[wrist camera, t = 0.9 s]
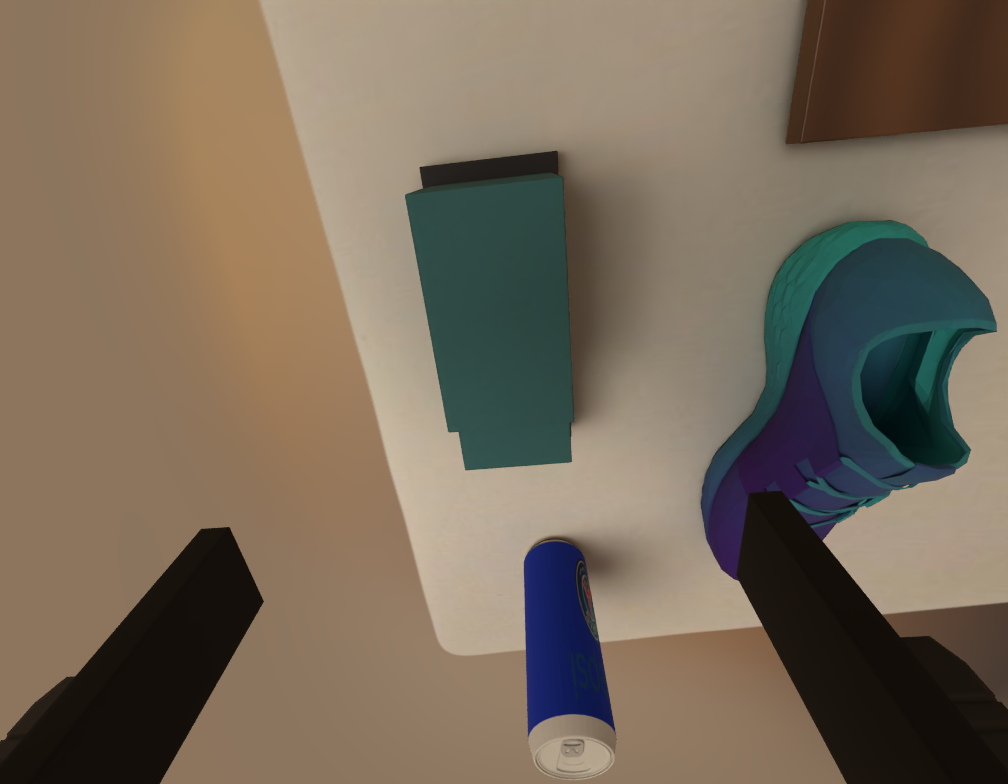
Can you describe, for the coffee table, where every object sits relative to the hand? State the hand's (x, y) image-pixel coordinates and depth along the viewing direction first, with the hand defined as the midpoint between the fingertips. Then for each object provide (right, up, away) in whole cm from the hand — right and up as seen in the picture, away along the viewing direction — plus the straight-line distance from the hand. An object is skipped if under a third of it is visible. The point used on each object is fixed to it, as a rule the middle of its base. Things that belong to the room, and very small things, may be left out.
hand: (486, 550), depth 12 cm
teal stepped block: (+1, +9, +19) cm, 21 cm away
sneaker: (+21, +3, +21) cm, 30 cm away
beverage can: (+5, -10, +28) cm, 30 cm away
